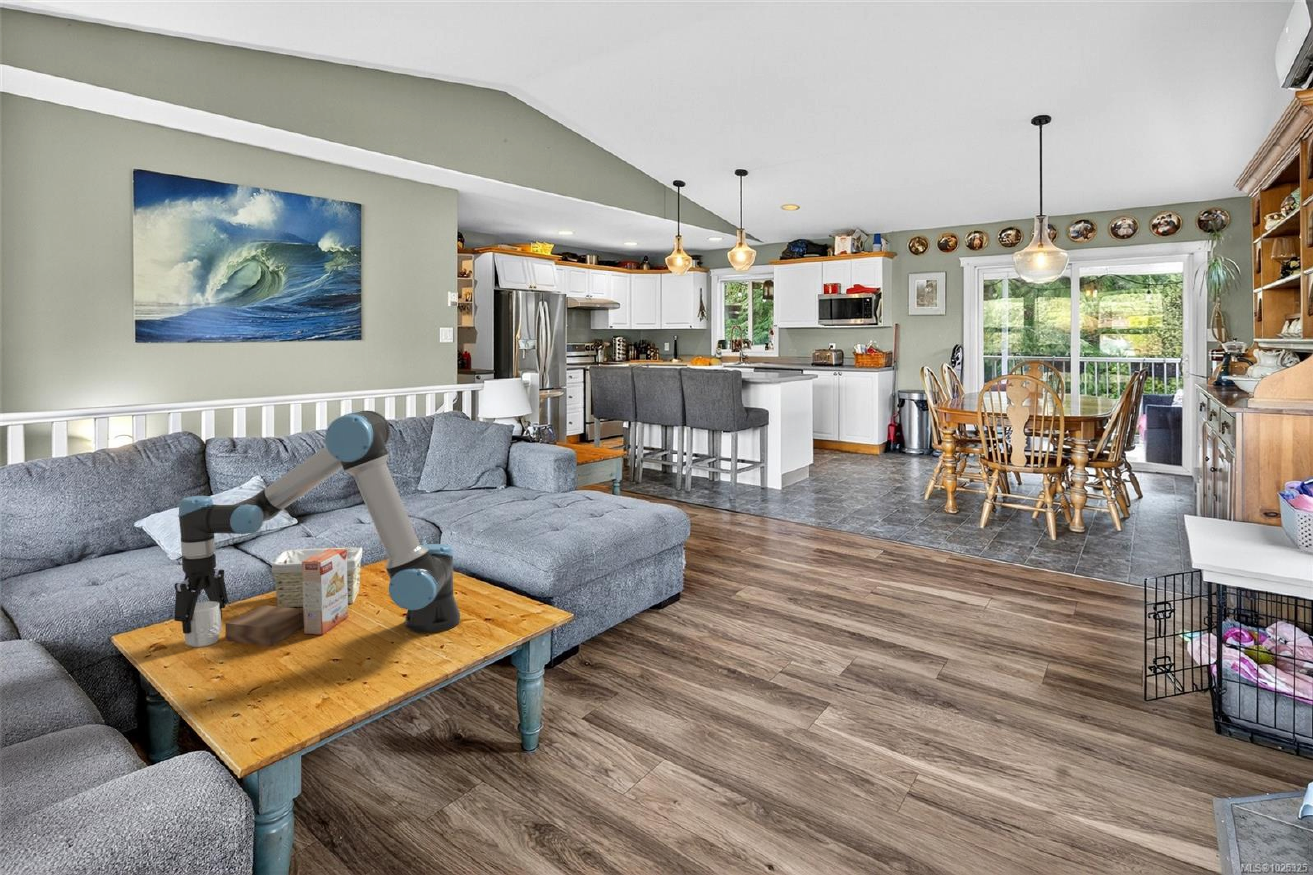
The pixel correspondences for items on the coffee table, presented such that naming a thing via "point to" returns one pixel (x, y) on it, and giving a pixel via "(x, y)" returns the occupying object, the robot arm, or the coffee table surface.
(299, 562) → the storage basket
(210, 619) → the white cup
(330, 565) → the cracker box
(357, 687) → the coffee table surface
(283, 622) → the walnut block
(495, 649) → the coffee table surface
